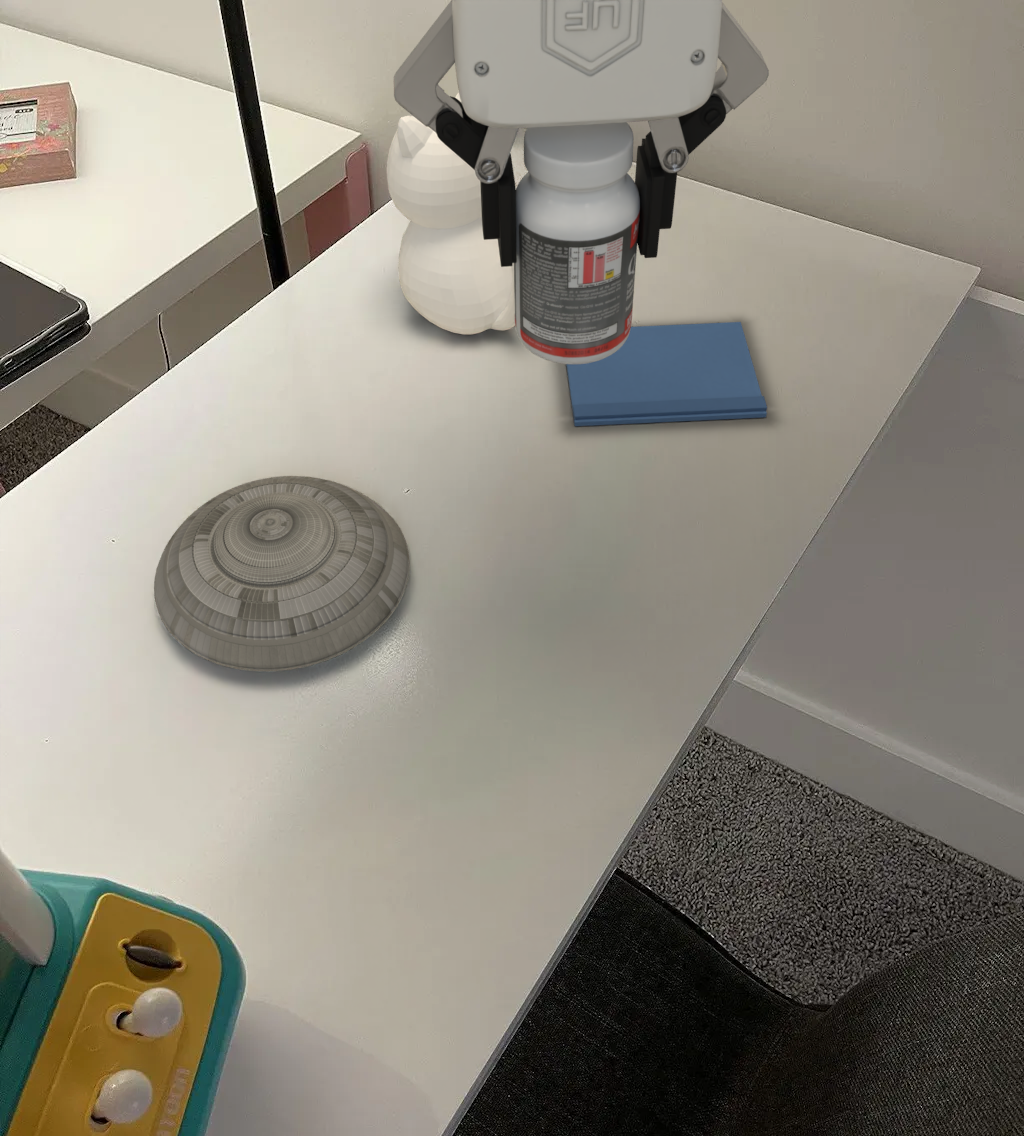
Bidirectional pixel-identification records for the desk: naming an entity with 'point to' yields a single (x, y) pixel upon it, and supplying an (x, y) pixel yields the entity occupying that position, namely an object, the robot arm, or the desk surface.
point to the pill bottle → (576, 242)
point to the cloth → (669, 378)
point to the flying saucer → (281, 574)
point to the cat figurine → (446, 236)
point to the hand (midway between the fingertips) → (575, 241)
